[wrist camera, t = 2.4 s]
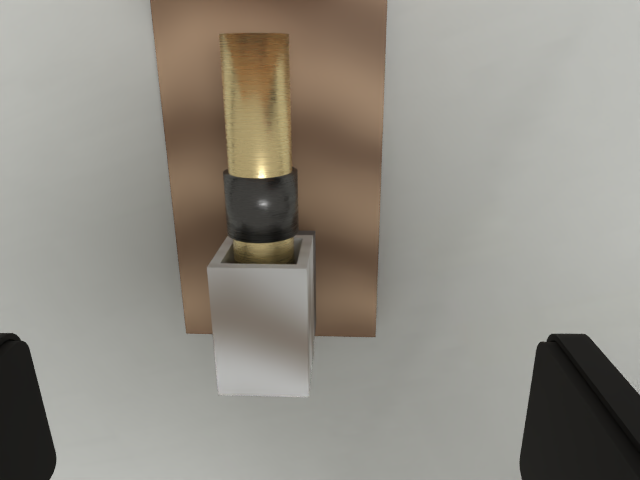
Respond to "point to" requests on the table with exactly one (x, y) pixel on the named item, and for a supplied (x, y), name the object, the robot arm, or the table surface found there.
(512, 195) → the table surface
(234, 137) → the brass tube
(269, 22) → the rig
